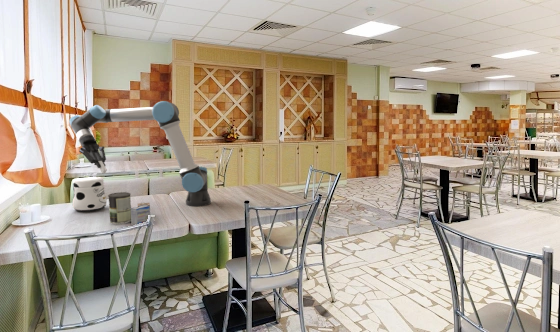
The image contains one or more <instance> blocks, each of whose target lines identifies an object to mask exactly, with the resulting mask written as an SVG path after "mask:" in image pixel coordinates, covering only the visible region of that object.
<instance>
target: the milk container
mask: <svg viewBox="0 0 560 332" xmlns="http://www.w3.org/2000/svg"><path fill="white" fill-rule="evenodd" d="M72 187H73V197H72V198H73V199H72V206H73V207H72V208H73V209H74V210H75V211H78V212H95V211H98V210H101V209H104V208H105V207H106V206H107V199H108V198H107V196H106V194H105V193H106V192H105V183H104V178H103V177H99V176H95V177H94V176H92V177H81V178H79V177H78V178H76V179H73V180H72Z"/></svg>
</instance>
